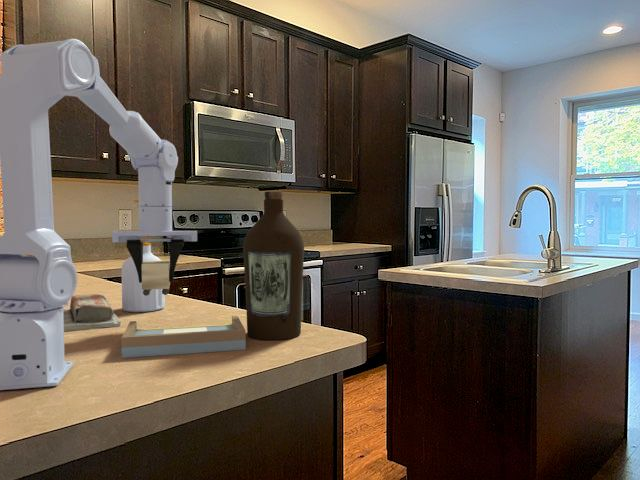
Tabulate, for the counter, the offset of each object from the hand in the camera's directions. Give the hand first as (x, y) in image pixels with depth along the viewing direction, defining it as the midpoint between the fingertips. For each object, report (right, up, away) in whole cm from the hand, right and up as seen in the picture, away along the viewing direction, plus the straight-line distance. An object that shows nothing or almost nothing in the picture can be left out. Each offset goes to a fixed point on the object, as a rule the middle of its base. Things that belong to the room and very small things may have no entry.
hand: (156, 281), depth 91 cm
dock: (+8, -9, -10) cm, 16 cm away
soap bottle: (-10, -8, +22) cm, 25 cm away
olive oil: (+22, -9, -3) cm, 24 cm away
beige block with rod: (0, -2, 0) cm, 2 cm away
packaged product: (-17, -9, +9) cm, 21 cm away
